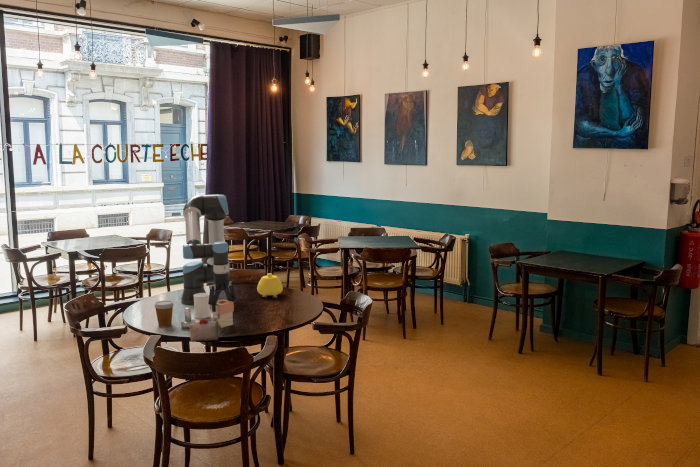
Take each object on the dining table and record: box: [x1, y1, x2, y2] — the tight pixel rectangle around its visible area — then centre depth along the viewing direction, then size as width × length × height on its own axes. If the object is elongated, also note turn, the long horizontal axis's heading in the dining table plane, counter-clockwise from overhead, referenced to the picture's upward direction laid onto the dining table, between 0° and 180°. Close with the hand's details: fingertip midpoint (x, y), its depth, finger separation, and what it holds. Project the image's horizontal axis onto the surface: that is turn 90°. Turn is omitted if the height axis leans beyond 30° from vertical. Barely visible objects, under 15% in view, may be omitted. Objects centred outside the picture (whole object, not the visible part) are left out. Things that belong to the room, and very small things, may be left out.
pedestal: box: [212, 312, 234, 329], centre depth 311 cm, size 7×7×7 cm
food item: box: [188, 318, 220, 342], centre depth 288 cm, size 14×8×10 cm, turn 98°
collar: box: [210, 299, 235, 315], centre depth 310 cm, size 8×8×5 cm
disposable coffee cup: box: [153, 300, 175, 328], centre depth 310 cm, size 10×10×12 cm
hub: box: [180, 307, 196, 330], centre depth 307 cm, size 7×7×10 cm
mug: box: [193, 292, 211, 320], centre depth 328 cm, size 12×8×12 cm
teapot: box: [256, 272, 284, 298], centre depth 373 cm, size 20×16×14 cm
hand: (222, 315), depth 310 cm, fingers closed on collar, 8 cm apart
